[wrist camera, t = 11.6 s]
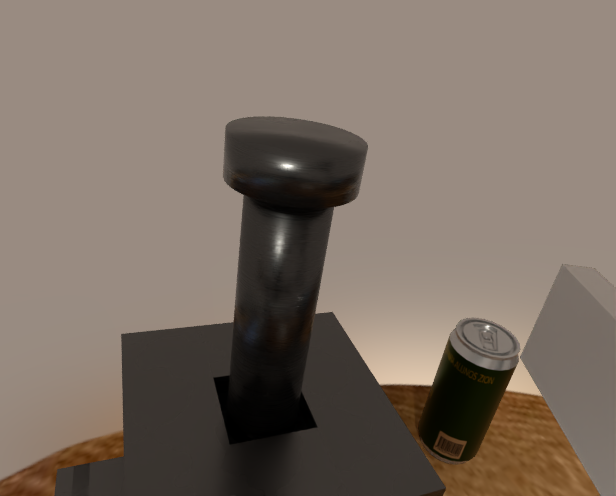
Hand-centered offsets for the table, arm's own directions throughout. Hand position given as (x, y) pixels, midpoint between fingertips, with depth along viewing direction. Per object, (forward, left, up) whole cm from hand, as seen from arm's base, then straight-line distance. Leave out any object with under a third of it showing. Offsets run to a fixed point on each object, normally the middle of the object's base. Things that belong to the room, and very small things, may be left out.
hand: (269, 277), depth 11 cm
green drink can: (-23, -13, -28) cm, 38 cm away
